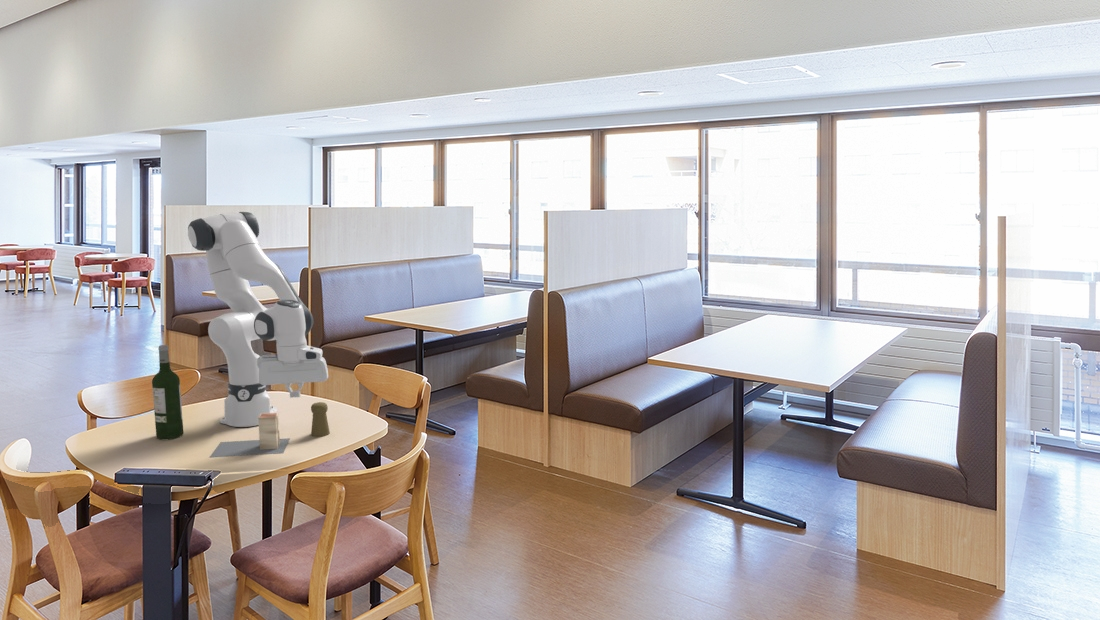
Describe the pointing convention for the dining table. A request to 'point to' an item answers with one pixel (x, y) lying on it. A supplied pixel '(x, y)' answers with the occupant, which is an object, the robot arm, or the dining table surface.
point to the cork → (319, 420)
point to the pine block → (269, 431)
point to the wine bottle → (167, 399)
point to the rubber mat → (246, 448)
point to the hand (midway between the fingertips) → (295, 396)
